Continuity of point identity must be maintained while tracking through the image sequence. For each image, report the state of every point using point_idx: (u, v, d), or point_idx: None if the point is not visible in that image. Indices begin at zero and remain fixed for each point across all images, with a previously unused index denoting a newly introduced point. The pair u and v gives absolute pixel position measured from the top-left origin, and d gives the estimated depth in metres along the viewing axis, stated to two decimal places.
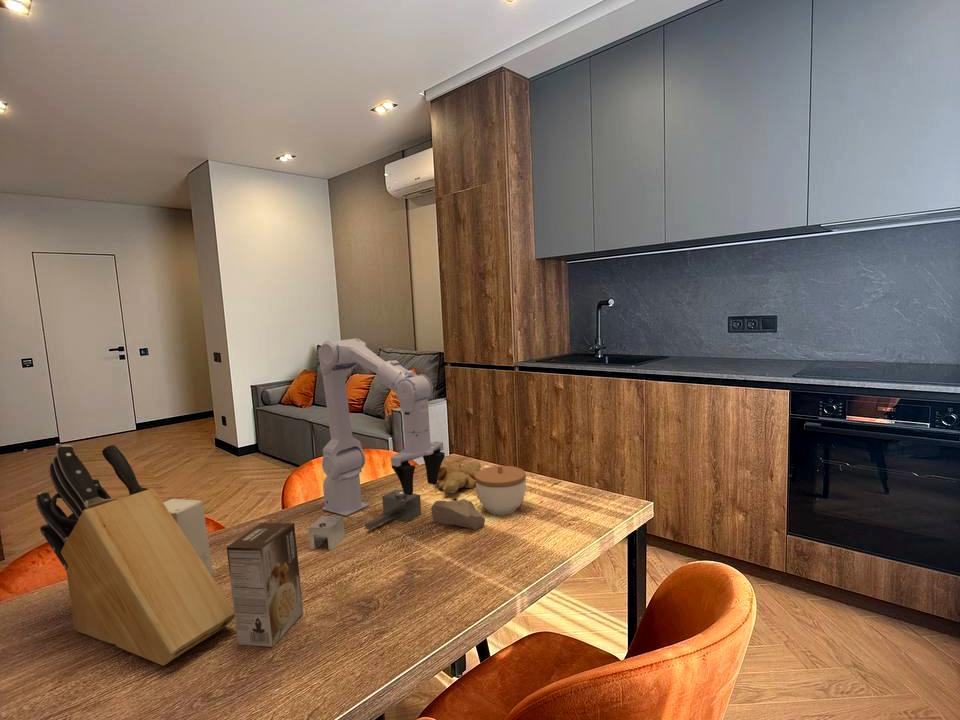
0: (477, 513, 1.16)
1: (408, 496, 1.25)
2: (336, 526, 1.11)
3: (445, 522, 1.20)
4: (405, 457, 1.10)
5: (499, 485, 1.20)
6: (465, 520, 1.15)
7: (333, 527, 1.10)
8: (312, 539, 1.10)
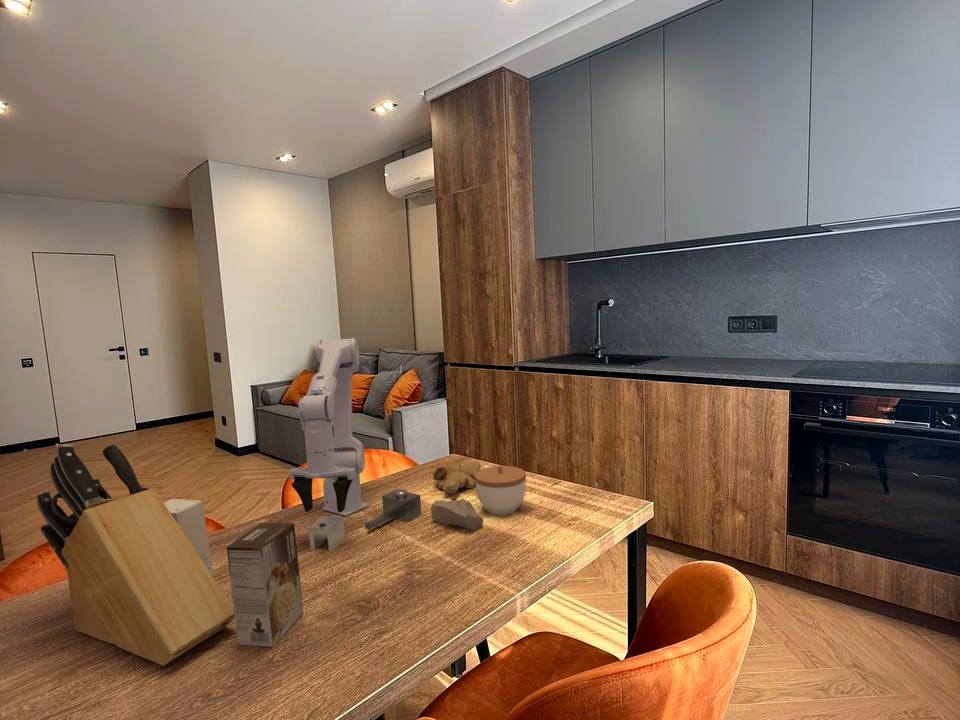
0: (475, 513, 1.16)
1: (408, 496, 1.25)
2: (336, 526, 1.11)
3: (444, 522, 1.20)
4: (297, 473, 1.11)
5: (499, 485, 1.20)
6: (463, 520, 1.15)
7: (333, 527, 1.10)
8: (312, 539, 1.10)
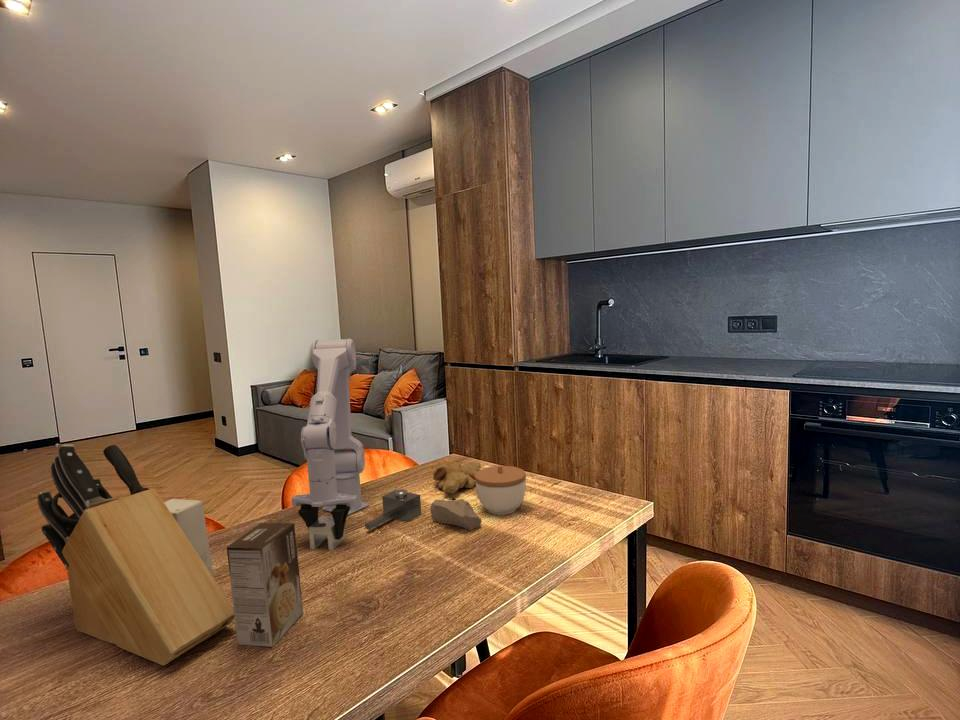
0: (473, 514, 1.16)
1: (408, 496, 1.25)
2: None
3: (443, 521, 1.20)
4: (299, 500, 1.11)
5: (499, 485, 1.20)
6: (461, 520, 1.15)
7: (333, 526, 1.10)
8: (312, 539, 1.10)
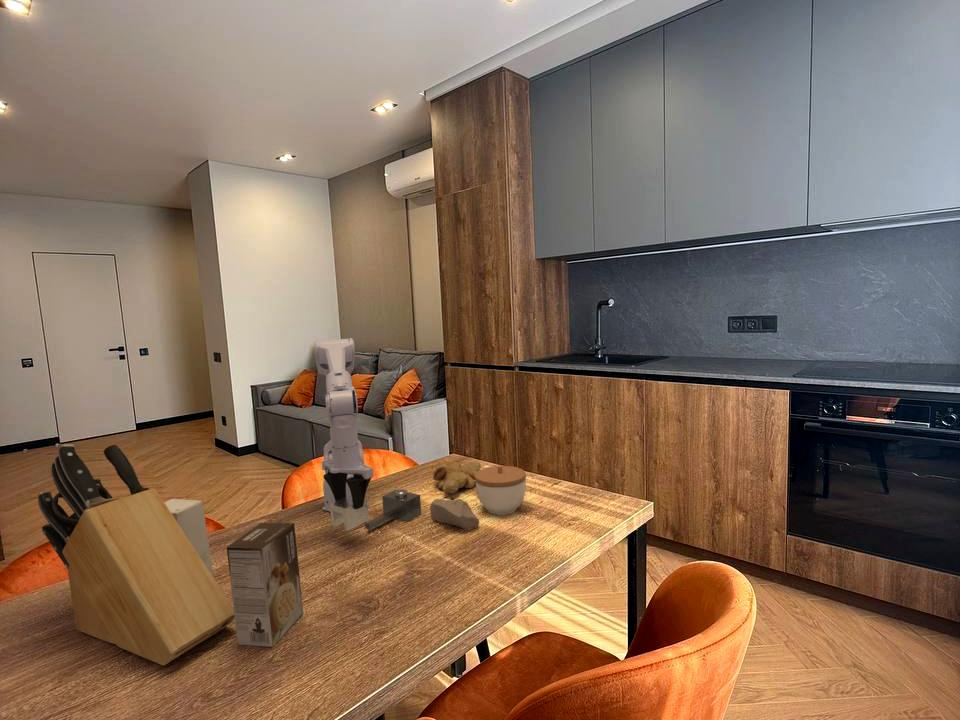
0: (471, 514, 1.16)
1: (408, 496, 1.25)
2: None
3: (442, 520, 1.21)
4: (326, 465, 1.14)
5: (499, 485, 1.20)
6: (458, 520, 1.15)
7: (349, 507, 1.09)
8: (332, 516, 1.11)
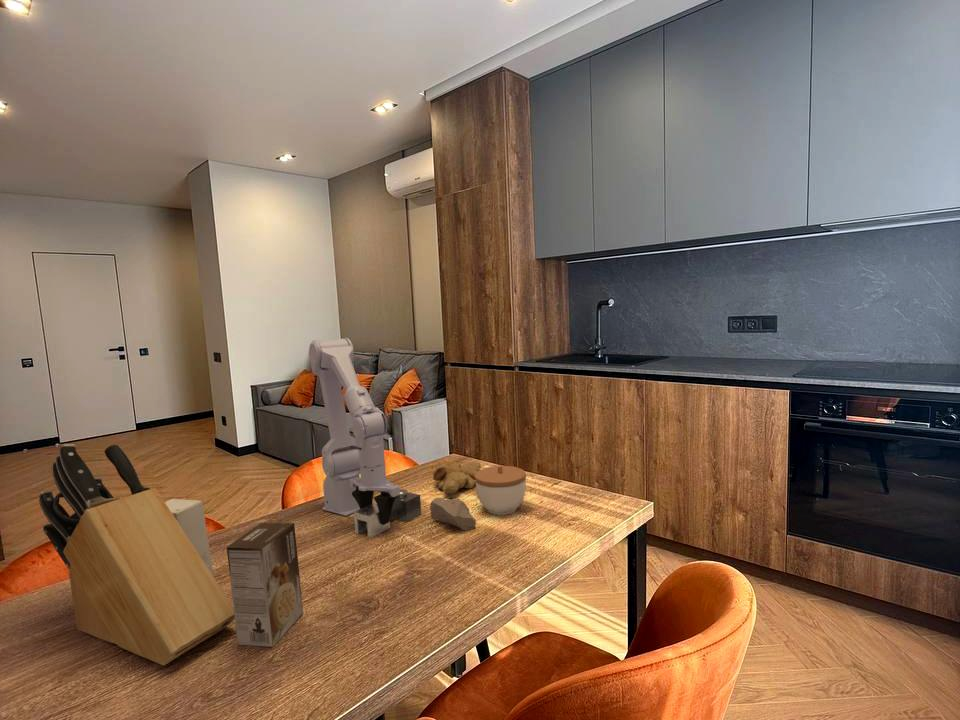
0: (467, 514, 1.16)
1: (408, 496, 1.25)
2: (377, 515, 1.16)
3: (441, 519, 1.21)
4: (354, 482, 1.20)
5: (499, 485, 1.20)
6: (454, 520, 1.16)
7: (372, 515, 1.15)
8: (356, 523, 1.17)
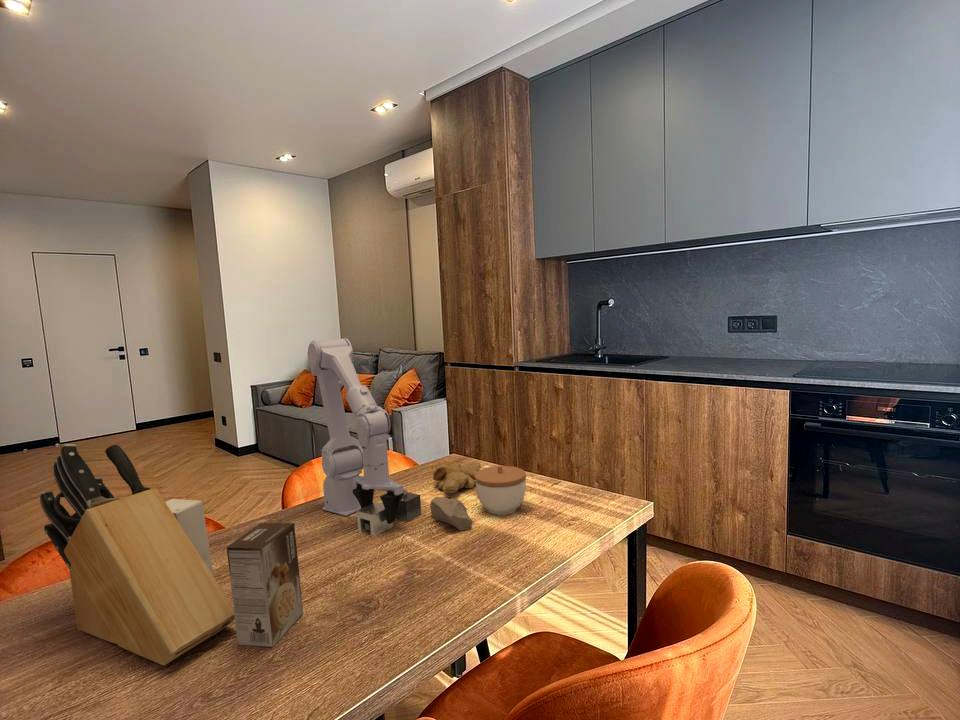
0: (464, 514, 1.16)
1: (408, 496, 1.25)
2: (380, 514, 1.17)
3: (440, 518, 1.22)
4: (357, 481, 1.21)
5: (499, 485, 1.20)
6: (451, 519, 1.16)
7: (375, 514, 1.16)
8: (359, 522, 1.18)
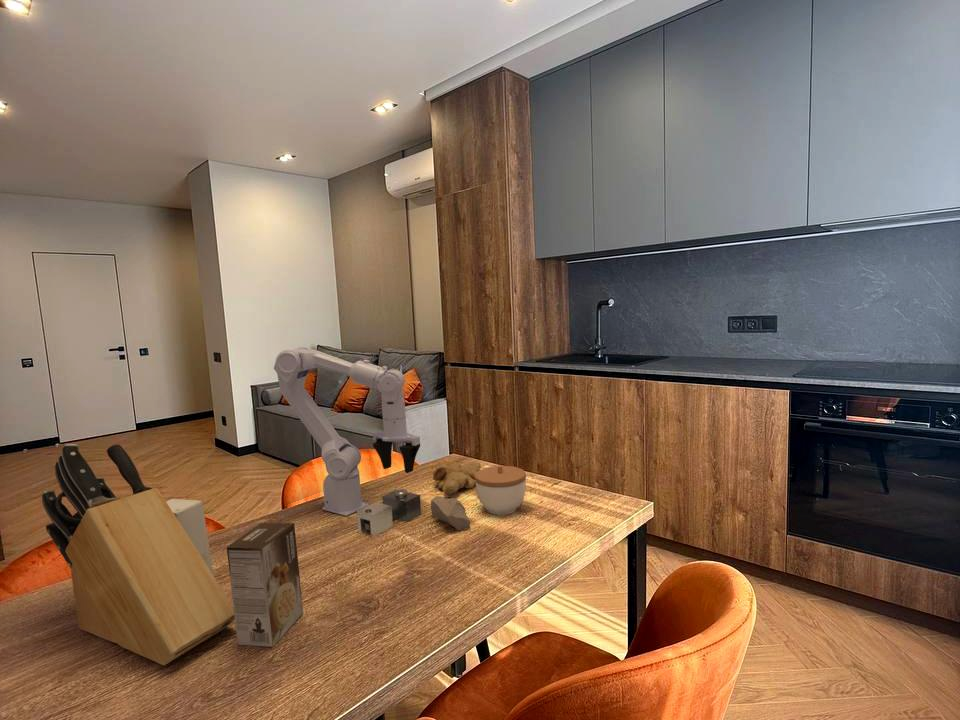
0: (462, 514, 1.16)
1: (408, 496, 1.25)
2: (380, 514, 1.17)
3: (440, 518, 1.23)
4: (377, 435, 1.32)
5: (499, 485, 1.20)
6: None
7: (375, 514, 1.16)
8: (359, 522, 1.18)
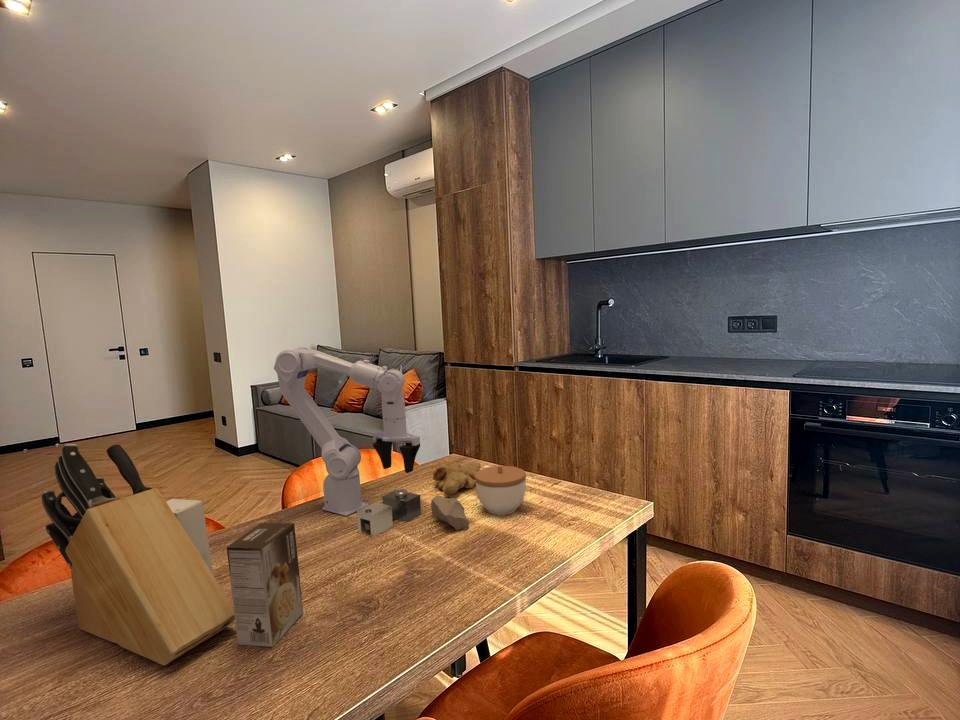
0: (460, 514, 1.16)
1: (408, 496, 1.25)
2: (380, 514, 1.17)
3: (439, 517, 1.23)
4: (377, 435, 1.32)
5: (499, 485, 1.20)
6: None
7: (375, 514, 1.16)
8: (359, 522, 1.18)
